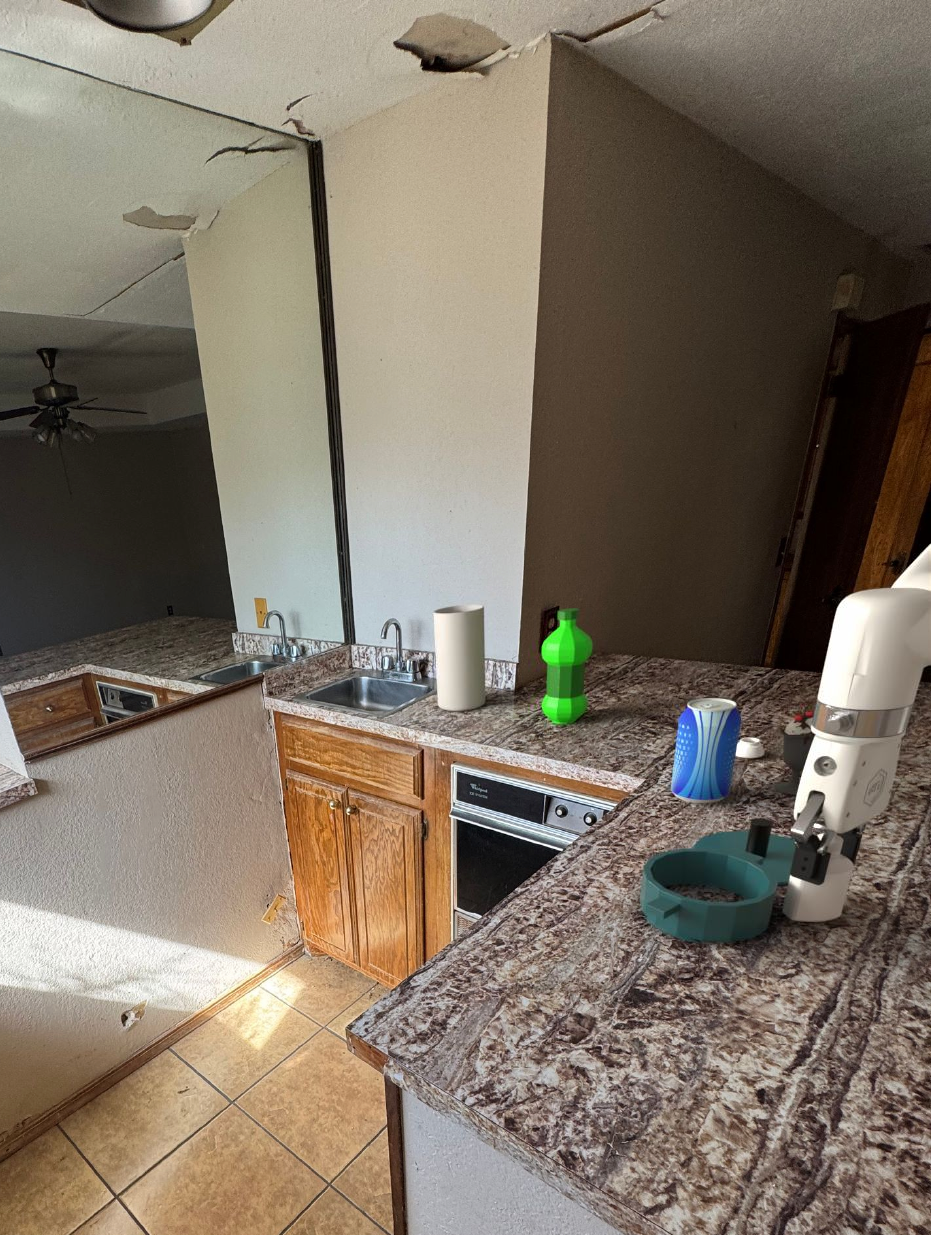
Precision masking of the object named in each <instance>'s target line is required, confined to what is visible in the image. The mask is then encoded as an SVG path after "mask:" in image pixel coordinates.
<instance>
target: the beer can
mask: <svg viewBox="0 0 931 1235" xmlns="http://www.w3.org/2000/svg"><path fill="white" fill-rule="evenodd" d="M737 705H738V704H737V702H736V701H734V700H731V699H727V698H719V697H705V698H697V699H692V700H690V701H688V702H687V707H686V708H685V709H684V711H683V712H682V713H681V714H680V716H679V718H678V725H677V733H676V741H675V742H676V743H675V750H674V758H673V767H672V775H671V785H670V791H671V792H672V794H673V795H674V796H675V797H676V798H677V799H679V800H681V801H684V802H687V803H693V804H713V803H718V802H721V801H723V800H724V799H725V798H726V797H728V796H729V795H730V792H731V786H732V780H733V775H734V768H735V762H736V757H737V756H736V750H737V744H738V742H739V738H740V732H741V725H742V716H741V714H740V712H739V711H738V708H737V707H738V706H737Z"/></svg>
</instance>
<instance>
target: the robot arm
mask: <svg viewBox="0 0 931 1235" xmlns="http://www.w3.org/2000/svg"><path fill="white" fill-rule="evenodd" d="M928 666H931V543H930V544H929V545H928V546H927V547H925V549H924V550H923V551H922V552H921V553H920V554H919V555H918V556H917V557H916V559H914V560H913V562H912V563H911V564H910V565H909V566H908V567H907V568H906V569H905V570H904V572H902V574H901V575H900V576H899V577H898V578H897V579H896V580H895V581H894V583H893V584H892V585H891V587H882V588H872V589H865V590H860V591H856V592H854V593H851V594H849V595H847V596H845V598H843V599H842V600H841V601H840V603H839V604H838V606H837V608H836V611H835V615H834V619H833V622H832V628H831V632H830V638H829V642H828V647H827V651H826V656H825V660H824V665H823V669H822V675H821V680H820V684H819V689H818V693H817V698H816V702H815V707H814V710H813V711H814V716H813V721H812V725H811V731H812V732H813V733H814V734H816V735H815V737H814V740H813V742H812V745H811V748H810V751H809V754H808V757H807V760H806V763H805V766H804V769H803V770H802V773H801V777H800V779H799V781H800V784H799V788H798V792H797V795H795V796H796V797H795V801H794V807H793V818H794V820H795V822H794V824H793V826H792V827H791V828H790V831H789V832H790V835H791V836H792V838H794V841H795V844H794V846H795V847H796V848H795V852H794V857H793V861H792V866H791V870H790V875H791V876H792V877H795V878H798V879H801V880H804V881H806V882H809V883H812V884H815V885H821V884H823V883H824V880H825V876H826V872H827V868H828V864H829V860H830V856H831V853H829V852H827V851H828V848H829V846H830V844H831V841H832V839H833V836H834V834H835V833H837V835H838V836H840V837H841V838H842V839H843V844H842V848H841V852H840V854H841V855H843V856H845V857H847V858H848V859H849V860H851V862H852V863H853V866H854V865H856V861H857V858H858V853H859V850H860V846H861V843H862V839H863V833H864V832H865V830H866V828H867V823H868V821H869V820H871V819H873V818H875V817H876V816H878V815H880V814H881V813H883V812H885V810H886V808H887V807H888V806H889V803H890V801H891V800H890V799H891V795H892V791H893V786H894V783H895V777H896V772H897V768H898V764H899V758H900V752H901V745H902V738H903V737H904V736H905V735H906V732H907V728H908V725H909V721H910V718H911V714H912V711H913V706H914V703H915V699H916V696H917V693H918V689H919V685H920V681H921V679H922V676H923V671H924V669H925V668H926V667H928ZM819 819H822V820H824V823H823V822H819V821H818V820H819ZM813 829H814V830H815V829H816V830H819V831H822V832H823V833H824V834H823V836H822V839H821V841H820V839H819V837H818V836H817V835H818V834H817V835H816V834H814V831H813Z"/></svg>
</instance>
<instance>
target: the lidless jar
mask: <svg viewBox="0 0 931 1235" xmlns="http://www.w3.org/2000/svg"><path fill="white" fill-rule="evenodd" d="M763 756H765V748H764V746H763V743H761V739H759V738H757V737H750V736H749V737H742V738H740V740H739V741H738V744H737V750H736V756H735V757H738V758H742V759H758V758H761V757H763Z"/></svg>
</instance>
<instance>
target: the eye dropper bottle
mask: <svg viewBox="0 0 931 1235" xmlns="http://www.w3.org/2000/svg"><path fill="white" fill-rule="evenodd" d="M823 834H824V832H822V833H819V834H817V836H818V837H819V839H820V841H821V839H822V836H823ZM842 844H843V839H842V838H841V837H840V836H838V835H837V833H835V834H834V836H833V839H832V841H831V844H830V846H829V848H828V851H827V852H829V853H831V856H830V860H829V864H828V868H827V872H826V876H825V880H824V883H823V884H821V885H815V884H812V883H809V882H806V881H804V880H801V879H798V878H795V877H792V876H791V875H790V879H789V883H788V885H787V888H786V892H785V896H784V900H783V905H782V911H781V912H782V913H783V914H784V915H785V917H788V918H789V919H790V920H792V921H794V922H795V921H797V922H808V923H814V922H815V923H816V922H817V923H819V922H826V921H827V922H828V921H832V920H835V919H838V918H840V917H841V916H842V913H843V909H844V905H845V902H846V898H847V895H848V890H849V887H850V883H851V879H852V874H853V871H854V865H853V863H852V862H851V860H849V859H848V858H847V857H845V856H843V855H841V854H840V852H841V848H842Z"/></svg>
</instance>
